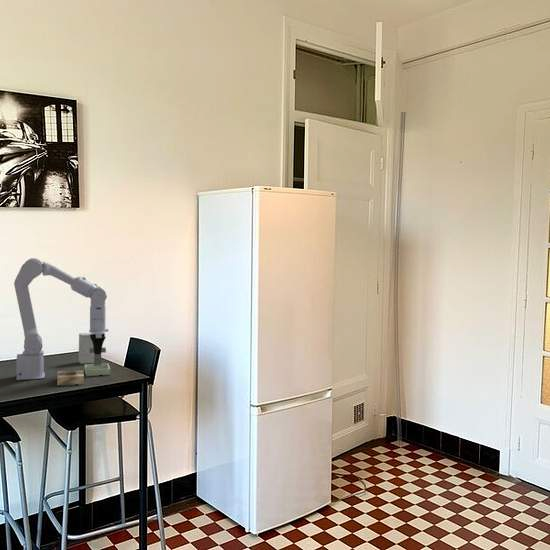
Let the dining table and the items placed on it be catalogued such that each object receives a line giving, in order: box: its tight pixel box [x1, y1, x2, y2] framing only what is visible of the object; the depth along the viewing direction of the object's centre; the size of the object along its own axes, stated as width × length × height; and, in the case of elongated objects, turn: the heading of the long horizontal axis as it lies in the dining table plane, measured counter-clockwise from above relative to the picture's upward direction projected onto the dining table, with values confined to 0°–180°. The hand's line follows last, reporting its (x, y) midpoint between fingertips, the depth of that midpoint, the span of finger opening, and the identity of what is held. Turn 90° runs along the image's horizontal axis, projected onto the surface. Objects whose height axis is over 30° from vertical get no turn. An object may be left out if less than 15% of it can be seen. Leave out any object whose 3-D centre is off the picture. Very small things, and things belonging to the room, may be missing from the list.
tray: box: [84, 363, 111, 377], centre depth 228 cm, size 9×9×2 cm
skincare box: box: [78, 332, 94, 365], centre depth 244 cm, size 6×4×12 cm
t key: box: [89, 347, 107, 366], centre depth 228 cm, size 6×3×6 cm, turn 110°
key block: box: [56, 369, 85, 387], centre depth 214 cm, size 9×9×3 cm
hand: (97, 353), depth 228 cm, fingers closed on t key, 3 cm apart
